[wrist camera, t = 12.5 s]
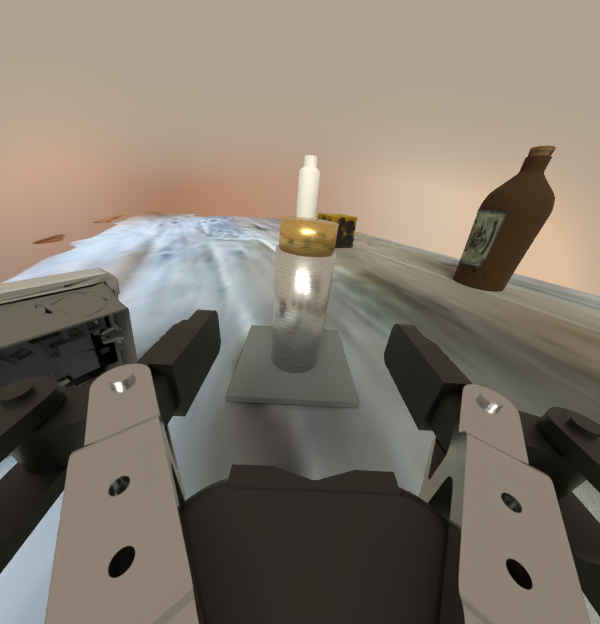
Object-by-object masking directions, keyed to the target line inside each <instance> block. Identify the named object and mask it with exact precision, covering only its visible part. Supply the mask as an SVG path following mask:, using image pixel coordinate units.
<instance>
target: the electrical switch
mask: <svg viewBox="0 0 600 624" xmlns="http://www.w3.org/2000/svg"><path fill="white" fill-rule="evenodd" d="M118 294H120V291H119V285H118V279H117V278H116V277H115V276H114V275H112V274H110V273H108V272H106V271H104V270H103V269H101V268H94V269H88V270H82V271H76V272H69V273H63V274H57V275H51V276H45V277H39V278H33V279H27V280H21V281H15V282H9V283H3V284H0V388H2V387H4V386H7V385H9V384H11V383H14V382H17V381H20V380H23V379H27V378H31V377H38V376H50V377H53V378H55V379H56V380H57V382H58V383H59V385H60V387H61V388H62V389H65V388H71V387H78V386H84V385H90V384H93V382H94V381H95V380H96V379H97V378H98V377H100V376H101V375H102V374H104V373H106V372H107V371H109V370H111V369H114V368H116V367H119V366H123V365H127V364H135V363H136V362H137V357H136V351H135V345H134V339H133V333H132V327H131V321H130V315H129V309H128V308H127V307H126V306H125V305H123V304H122V303H121V302H120V301H119V300H118ZM9 455H11V454H9ZM9 455H8V456H9ZM8 456H7V457H8Z"/></svg>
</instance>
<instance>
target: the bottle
mask: <svg viewBox="0 0 600 624" xmlns="http://www.w3.org/2000/svg"><path fill="white" fill-rule="evenodd" d="M316 165H317V156H312V155H306V156H305V160H304V167H303V168H302V169H301V170H300V171H299V182H298V197H297V214H296V217H305V218H314V219H315V217H316V207H317V198H318V188H319V178H320V172H319V170H318V169H317V168H316Z"/></svg>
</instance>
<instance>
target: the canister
mask: <svg viewBox="0 0 600 624" xmlns="http://www.w3.org/2000/svg"><path fill="white" fill-rule="evenodd" d="M338 225H339V224H338V223H336V222H332V221H327V220H321V219H314V218H305V217H281V219H280V238H279V245H278V246H277V247H276V263H275V286H274V309H273V331H272V354H271V358H272V361H273V363H274V364H275V365H276V366H277V367H278V368H279V369H281V370H283V371H286V372H289V373H304V372H307V371H310V370H311V369H313V368H314V367H315V366H316V364H317V361H318V356H319V350H320V344H321V339H322V333H323V327H324V322H325V316H326V310H327V305H328V299H329V293H330V288H331V282H332V276H333V271H334V265H335V259H336V252H335V251H334V249H335V243H336V237H337V231H338Z"/></svg>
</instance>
